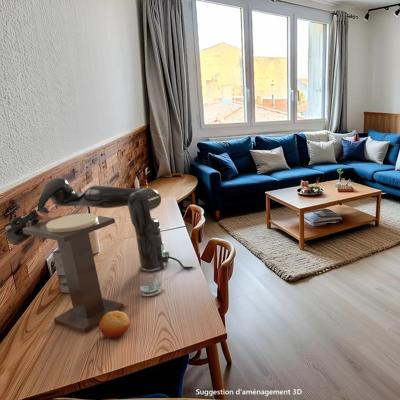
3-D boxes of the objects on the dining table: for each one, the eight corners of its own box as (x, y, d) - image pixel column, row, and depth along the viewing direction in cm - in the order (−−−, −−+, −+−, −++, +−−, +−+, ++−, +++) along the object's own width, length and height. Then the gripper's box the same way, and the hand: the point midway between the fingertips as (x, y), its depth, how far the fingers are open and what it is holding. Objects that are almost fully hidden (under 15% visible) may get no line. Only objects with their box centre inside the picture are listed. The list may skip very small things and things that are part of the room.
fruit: (101, 322, 106) (111, 302, 105) (126, 332, 108) (136, 312, 106) (88, 340, 99) (99, 318, 97) (115, 350, 100) (126, 329, 99)
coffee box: (75, 294, 125) (66, 253, 120) (60, 292, 126) (50, 252, 121) (94, 281, 133) (86, 243, 129) (80, 279, 135) (72, 241, 130)
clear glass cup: (162, 295, 124) (162, 286, 129) (159, 279, 122) (160, 271, 127) (140, 299, 121) (141, 290, 127) (137, 283, 119) (138, 275, 125)
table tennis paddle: (11, 223, 104) (9, 218, 103) (54, 210, 115) (53, 206, 115) (66, 235, 94) (65, 229, 94) (108, 219, 106) (107, 214, 105)
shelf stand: (47, 322, 109) (22, 228, 100) (93, 296, 123) (75, 211, 114) (86, 336, 102) (63, 237, 93) (130, 307, 116) (114, 218, 107)
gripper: (-12, 228, 109) (9, 207, 101) (34, 214, 121) (57, 194, 113) (0, 248, 110) (23, 229, 101) (45, 233, 122) (69, 214, 114)
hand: (41, 211), depth 107 cm, fingers closed on table tennis paddle, 2 cm apart
